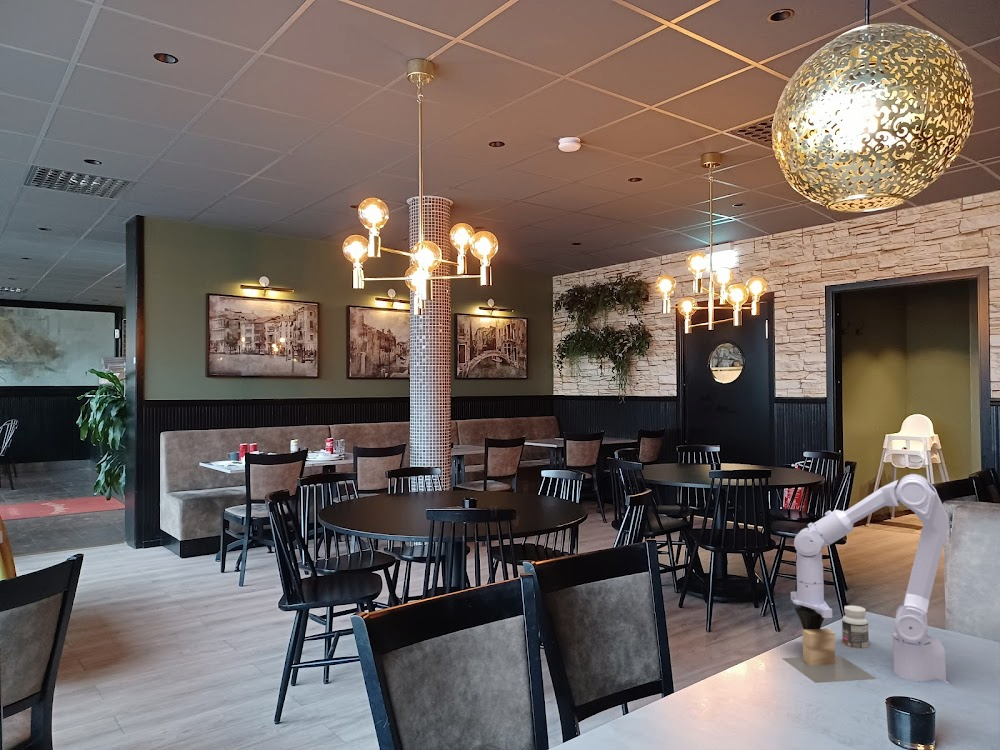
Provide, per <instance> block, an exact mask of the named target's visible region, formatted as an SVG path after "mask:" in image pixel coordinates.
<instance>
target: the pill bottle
mask: <svg viewBox="0 0 1000 750" xmlns="http://www.w3.org/2000/svg"><path fill="white" fill-rule="evenodd" d="M843 612H844V614H845V615H843V616H842V619H841V628H842V629H841V630H842V637H841V638H842V639H841V640H842V645H843V646H846V647H849V648H854V649H867V648H868V647H869V645H870V643H869V621H868V619H867V618H866V614H867V613H866V608H865V607H863V606H859V605H845V606H844V609H843Z"/></svg>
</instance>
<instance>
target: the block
mask: <svg viewBox="0 0 1000 750" xmlns="http://www.w3.org/2000/svg"><path fill="white" fill-rule="evenodd" d="M835 634H836V633H835V632H834V631H832V630H830V629H829V628H820V629H807V630H803V629H802V634H801V635H802V657H803V661H805V662H806V663H807V664H809V665H826V664H835V655H836V639H835V638H836V637H835V636H836V635H835Z"/></svg>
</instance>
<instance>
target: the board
mask: <svg viewBox="0 0 1000 750" xmlns="http://www.w3.org/2000/svg"><path fill="white" fill-rule="evenodd" d="M781 659H782V660H784V661H785V662H786V663H787V664H789V665H790V666H792V667H793V668H795V669H796V670H797V671H798V672H800V673H801V674H803V676H805V677H807V678H808V679H810V680H811V681H812V682H813V683H815V684H818V683H819V684H820V683H832V682H833V683H834V682H835V683H836V682H849V681H852V682H853V681H867V680H877V679H878V678H877V677H876V676H874V675H872V674H870V673H869V672H867V671H865V670H864V669H862V668H860V666H857V665H856V664H854V663H853V662H851V661H850V660H848V659H847V658H845V657H843V656H841V654H835V664H826V665H809V664H807V663H806V662H805V661H803V656H801V657H800V656H799V657H798V656H797V657H783V658H781Z"/></svg>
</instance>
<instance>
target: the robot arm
mask: <svg viewBox="0 0 1000 750" xmlns="http://www.w3.org/2000/svg"><path fill="white" fill-rule="evenodd" d="M898 481H899V483H898ZM900 504H903V506H905V507H906V508H907V509H909V510H911V511H912V512H913V513H914V515H916V517H917V518H918V519H919V521H920V522H921V523H922V528H921V532H920V536H919V541H918V542H917V543H918V544H917V548H916V551H915V555H914V560H913V564H912V568H911V572H910V577H909V580H908V584H907V588H906V592H905V595H904V599H903V601H902V602H901V604H900V605H898V607H897V609H896V610H895V619H894V620H893V629H894V631H893V633H892V646H893V647H892V648H893V649H892V651H893V652H892V653H893V673H894V675H895V676H897V677H900V678H902V679H905V680H907V681H915V682H929V681H933V680H934V681H935V680H941V681H942V682H945V683H946V684H948V685H949V684H950V683H949V682H948V681H947V670H946V669H947V667H946V665H947V664H946V658H947V657H946V651H945V648H944V646H943V644H942V643H941V641H940V640H939V639H937V637H932V636H930V635H929V627H928V624H929V614H928V609H929V605H930V601H931V600H930V599H931V596H932V592H933V587H934V584H935V579H936V575H937V571H938V568H939V564H940V560H941V556H942V552H943V549H944V544H945V540H946V536H947V533H948V532H947V531H948V529H949V524H950V523H949V521H950V518H949V515H948V513H947V511H946V509H945V507H944V505H943V503H942V500H941V498H940V497H939V494H938V492H937V489H936V487H934V485H933V484H932V483H931V482H930V481H929V480H928V479H926V477H925V476H923V475H921V474H916V473H911V474H907V475H905V476H903V477H902V478H901V479H900V480H899V479H896V480H894V481H892V482H889V483H888V484H885V485H883V486H882V487H879V488H878V489H877V490H875V491H874V492H872V493H871V494H869V495H867V496H865V498H863V499H861V500H860V501H859V502H857V503H856V504H854V505H852V506H851V507H849V508H848V509H846V510H839V509H834V510H833V511H831V509H830V510H827V511H826V512H825V513H824V516H823V517H821V518H820V519H819V520H817V521H815V522H810V523H808V524H807V527H805V528H802V529H801V530H800V531H799V532H798V533H797V534H796V535H795V537H794V538H793V539H794V541H793V545H794V548H795V550H796V553H795V556H796V563H795V564H796V566H795V567H796V591H791V592H790V601H792V603H793V604H794V605H796V606H797V607H795V608H794V611H795V612H796V614H797V616H798V618H799V620H800V623H801V626H802V630H807V629H821V627H822V624H823V622H824V621H825V619H832V618H833V609H832V608H830V606H829V605H828V604H827V602H826V601H825V596H824V595H825V592H824V590H825V587H824V586H825V585H824V584H825V583H824V562H823V552H822V551H823V550H822V549H823V547H825V546H826V547H827V546H830V545H832V544H833V543H835V542H837V541H839V540H840V539H842V538H844V537H845V536H847V535H849V534H851V533H852V532H853V530H854V524H855V523H857V522H858V521H860V520H862V519H864V518H866V517H868V516H870V515H871V514H873V513H874V512H876V511H878V510H880V509H882V508H884V507H900ZM798 605H799V606H798Z"/></svg>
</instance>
